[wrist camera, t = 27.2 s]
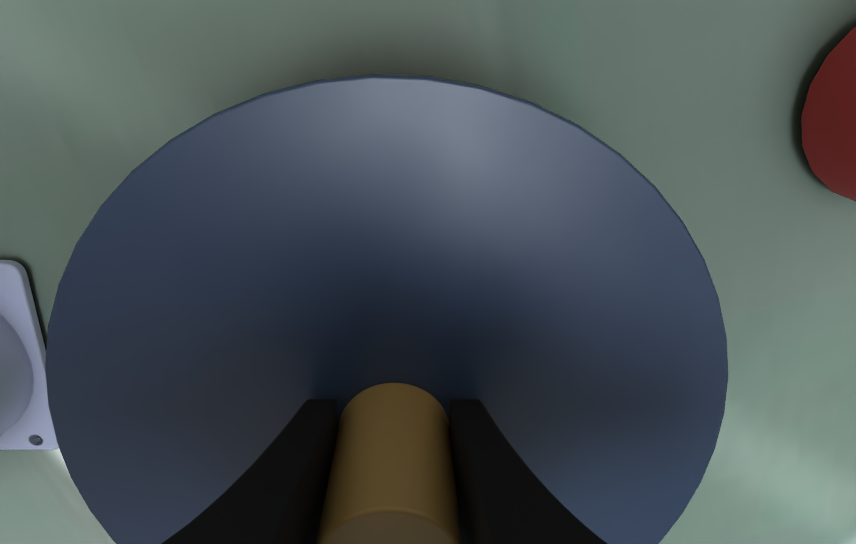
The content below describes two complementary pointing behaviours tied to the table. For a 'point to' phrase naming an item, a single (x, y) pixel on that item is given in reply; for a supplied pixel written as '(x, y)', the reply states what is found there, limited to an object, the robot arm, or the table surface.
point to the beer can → (833, 119)
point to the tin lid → (386, 314)
